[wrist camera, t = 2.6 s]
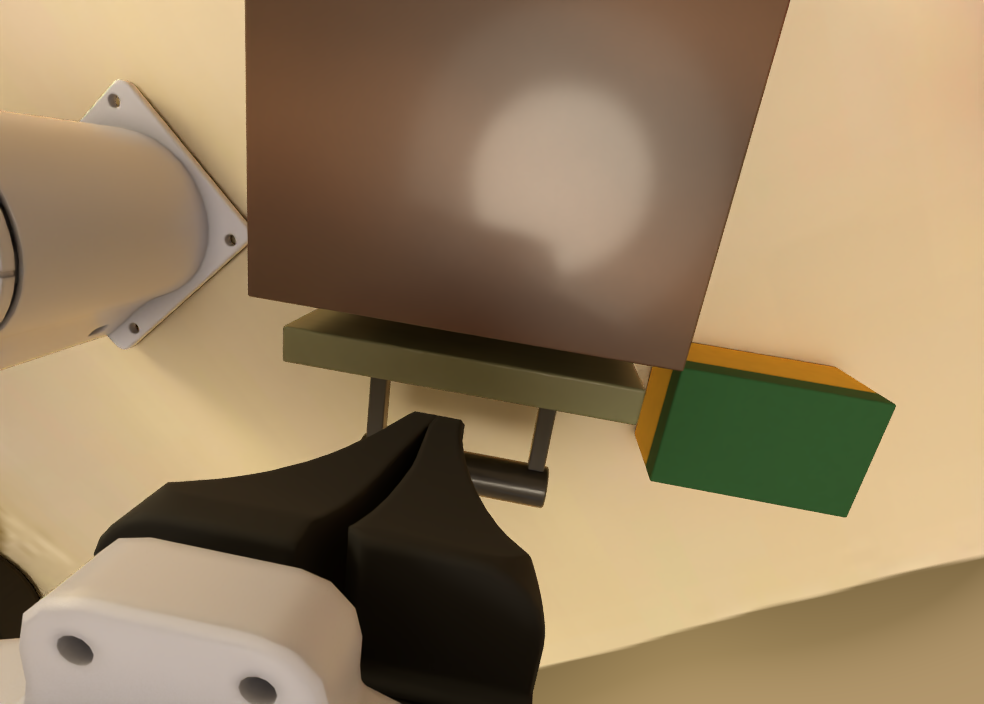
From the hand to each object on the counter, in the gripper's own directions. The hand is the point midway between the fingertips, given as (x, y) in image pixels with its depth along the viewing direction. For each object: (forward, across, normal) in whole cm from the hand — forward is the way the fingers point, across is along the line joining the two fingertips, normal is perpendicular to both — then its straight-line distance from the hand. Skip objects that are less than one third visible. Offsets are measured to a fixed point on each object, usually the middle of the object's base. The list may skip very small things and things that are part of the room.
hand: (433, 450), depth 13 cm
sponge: (+10, -11, +1) cm, 15 cm away
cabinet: (+10, 0, -9) cm, 14 cm away
